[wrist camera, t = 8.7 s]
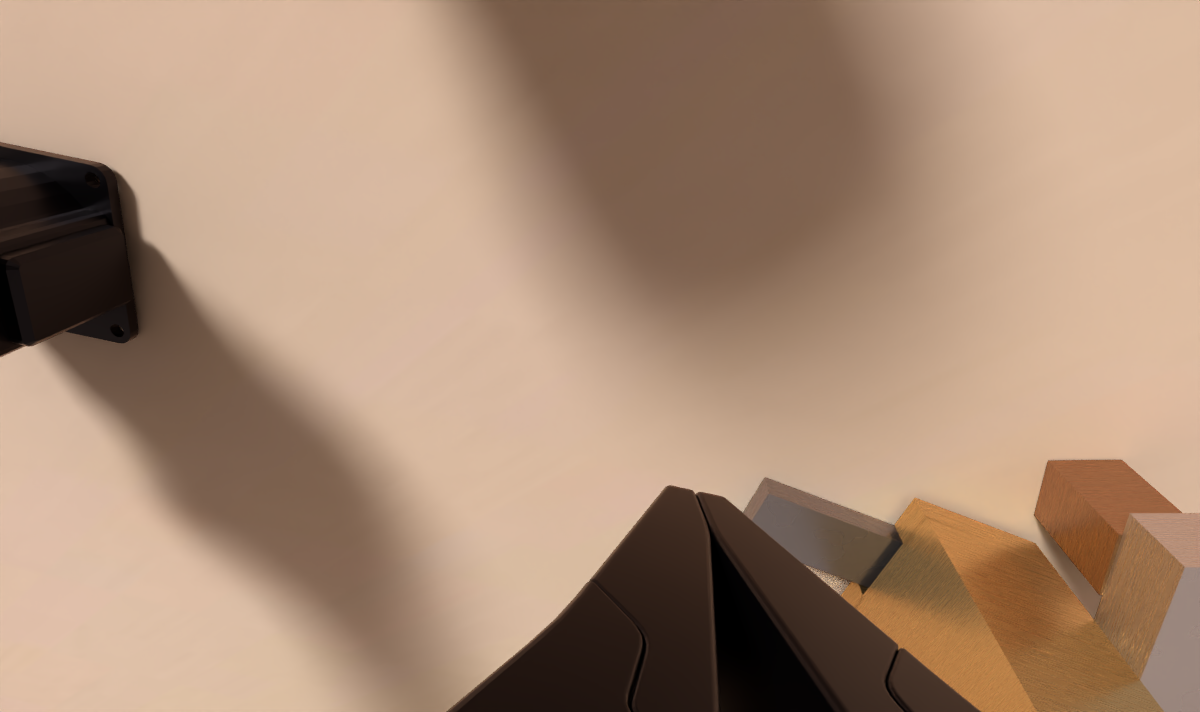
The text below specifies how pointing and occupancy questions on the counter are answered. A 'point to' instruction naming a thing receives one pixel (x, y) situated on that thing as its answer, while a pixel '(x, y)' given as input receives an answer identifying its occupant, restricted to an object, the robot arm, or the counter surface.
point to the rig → (1084, 532)
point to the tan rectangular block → (995, 620)
